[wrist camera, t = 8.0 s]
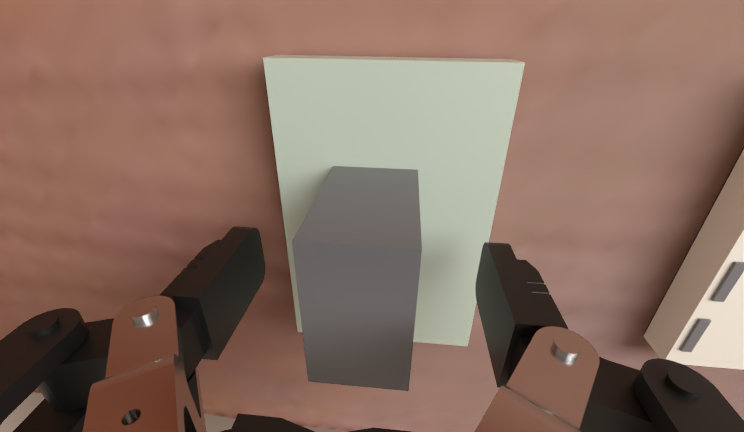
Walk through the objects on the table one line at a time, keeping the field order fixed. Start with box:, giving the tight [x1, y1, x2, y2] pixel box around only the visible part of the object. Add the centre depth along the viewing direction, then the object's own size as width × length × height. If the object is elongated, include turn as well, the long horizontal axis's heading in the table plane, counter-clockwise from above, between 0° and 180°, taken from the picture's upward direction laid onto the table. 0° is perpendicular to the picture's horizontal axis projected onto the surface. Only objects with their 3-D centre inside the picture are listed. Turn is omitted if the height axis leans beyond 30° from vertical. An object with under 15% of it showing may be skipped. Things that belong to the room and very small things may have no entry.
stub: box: [263, 55, 525, 391], centre depth 12 cm, size 8×12×6 cm, turn 0°
